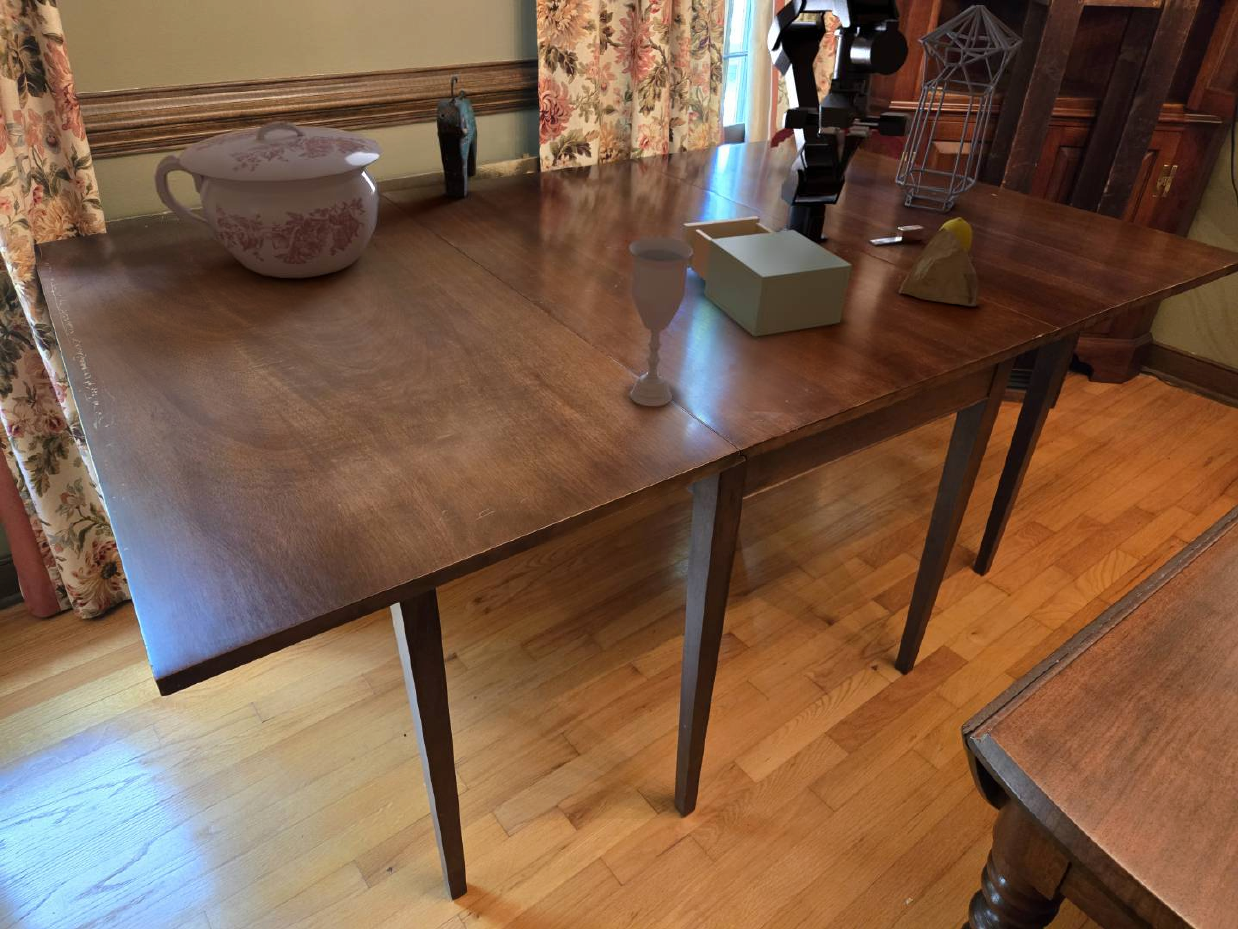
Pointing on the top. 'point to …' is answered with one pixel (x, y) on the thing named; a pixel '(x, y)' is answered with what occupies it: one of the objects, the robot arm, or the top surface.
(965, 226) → the lemon
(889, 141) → the decorative bird sculpture
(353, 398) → the top surface
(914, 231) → the metal z bracket
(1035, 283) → the top surface
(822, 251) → the cabinet
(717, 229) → the drawer
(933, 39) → the geometric lantern
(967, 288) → the rock
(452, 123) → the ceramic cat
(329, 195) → the chamber pot
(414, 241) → the top surface
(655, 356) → the chalice
